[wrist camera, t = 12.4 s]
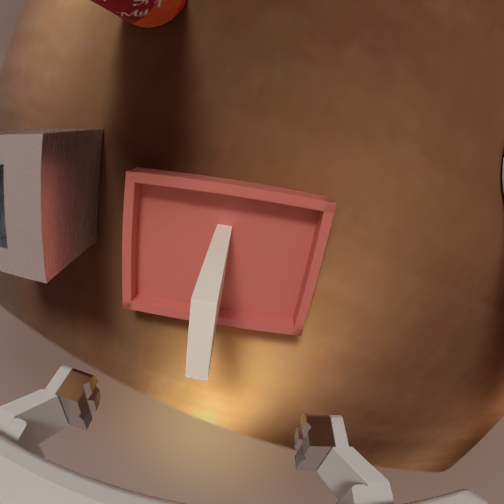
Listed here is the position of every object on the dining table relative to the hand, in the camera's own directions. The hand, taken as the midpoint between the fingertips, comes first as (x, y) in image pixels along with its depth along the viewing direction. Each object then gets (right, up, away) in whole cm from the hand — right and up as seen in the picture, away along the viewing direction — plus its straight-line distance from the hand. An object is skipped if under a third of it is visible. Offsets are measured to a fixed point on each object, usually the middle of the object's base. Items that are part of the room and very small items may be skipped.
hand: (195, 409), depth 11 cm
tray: (0, +6, +16) cm, 18 cm away
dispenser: (-16, +12, +14) cm, 24 cm away
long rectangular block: (0, +6, +15) cm, 17 cm away
